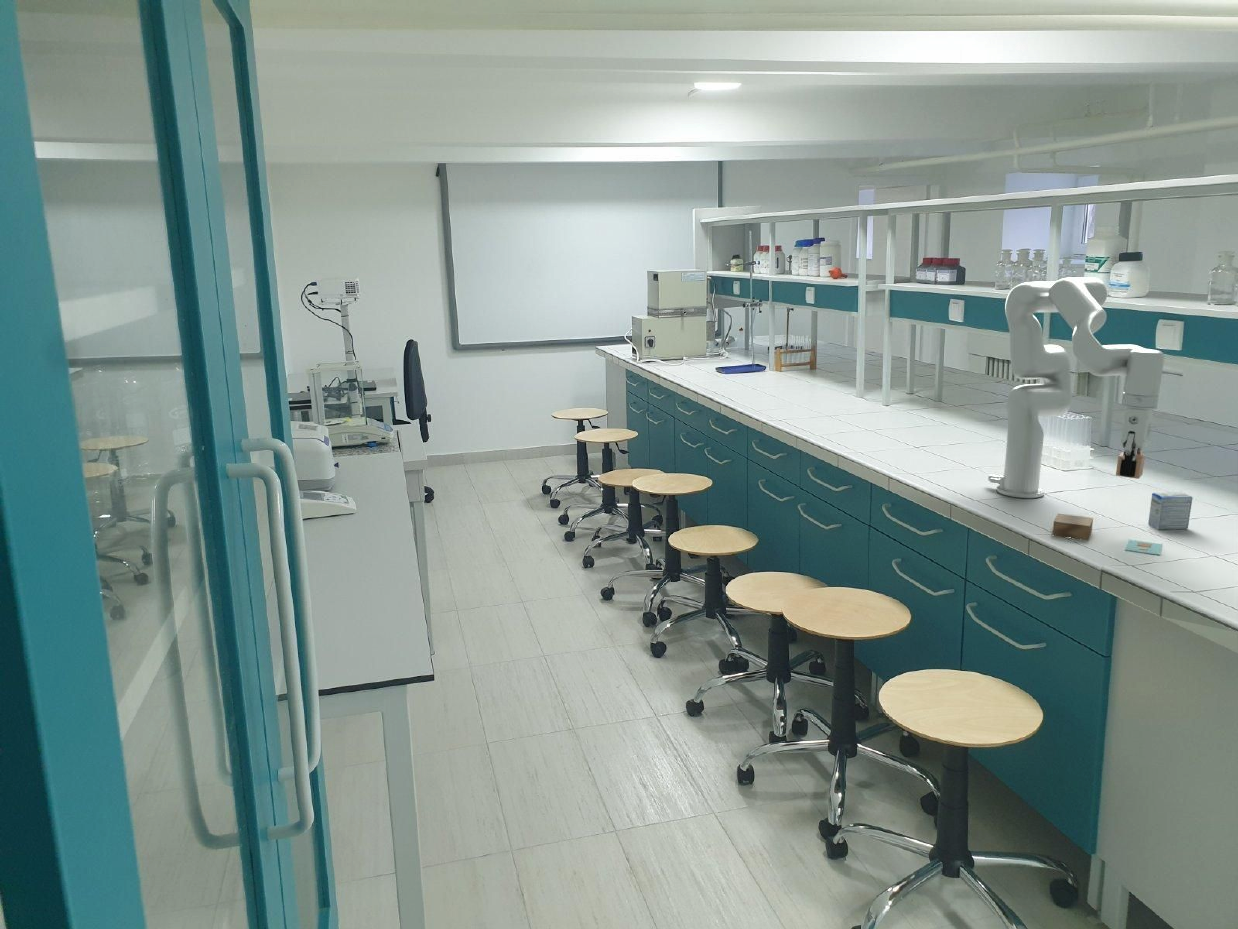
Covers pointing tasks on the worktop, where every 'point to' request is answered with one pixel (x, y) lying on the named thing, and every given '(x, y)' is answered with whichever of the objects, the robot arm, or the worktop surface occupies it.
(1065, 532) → the walnut block
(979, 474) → the worktop surface
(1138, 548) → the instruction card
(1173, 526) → the medicine box
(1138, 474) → the painted brick
